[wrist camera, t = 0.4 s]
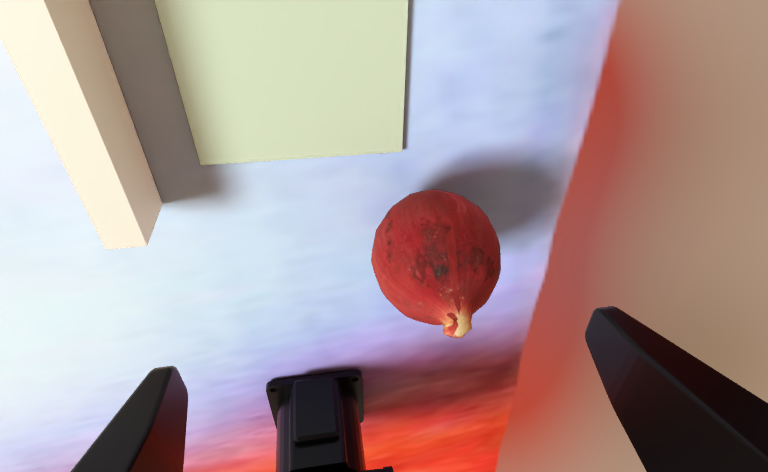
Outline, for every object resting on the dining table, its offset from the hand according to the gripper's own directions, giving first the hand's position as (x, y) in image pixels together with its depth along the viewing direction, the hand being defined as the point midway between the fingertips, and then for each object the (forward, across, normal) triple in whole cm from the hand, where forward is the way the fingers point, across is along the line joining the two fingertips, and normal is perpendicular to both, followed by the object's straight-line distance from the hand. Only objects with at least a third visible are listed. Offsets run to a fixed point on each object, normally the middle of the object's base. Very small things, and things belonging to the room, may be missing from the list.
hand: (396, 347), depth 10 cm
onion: (+13, -4, +6) cm, 15 cm away
